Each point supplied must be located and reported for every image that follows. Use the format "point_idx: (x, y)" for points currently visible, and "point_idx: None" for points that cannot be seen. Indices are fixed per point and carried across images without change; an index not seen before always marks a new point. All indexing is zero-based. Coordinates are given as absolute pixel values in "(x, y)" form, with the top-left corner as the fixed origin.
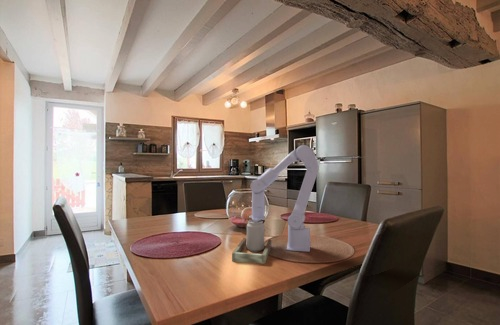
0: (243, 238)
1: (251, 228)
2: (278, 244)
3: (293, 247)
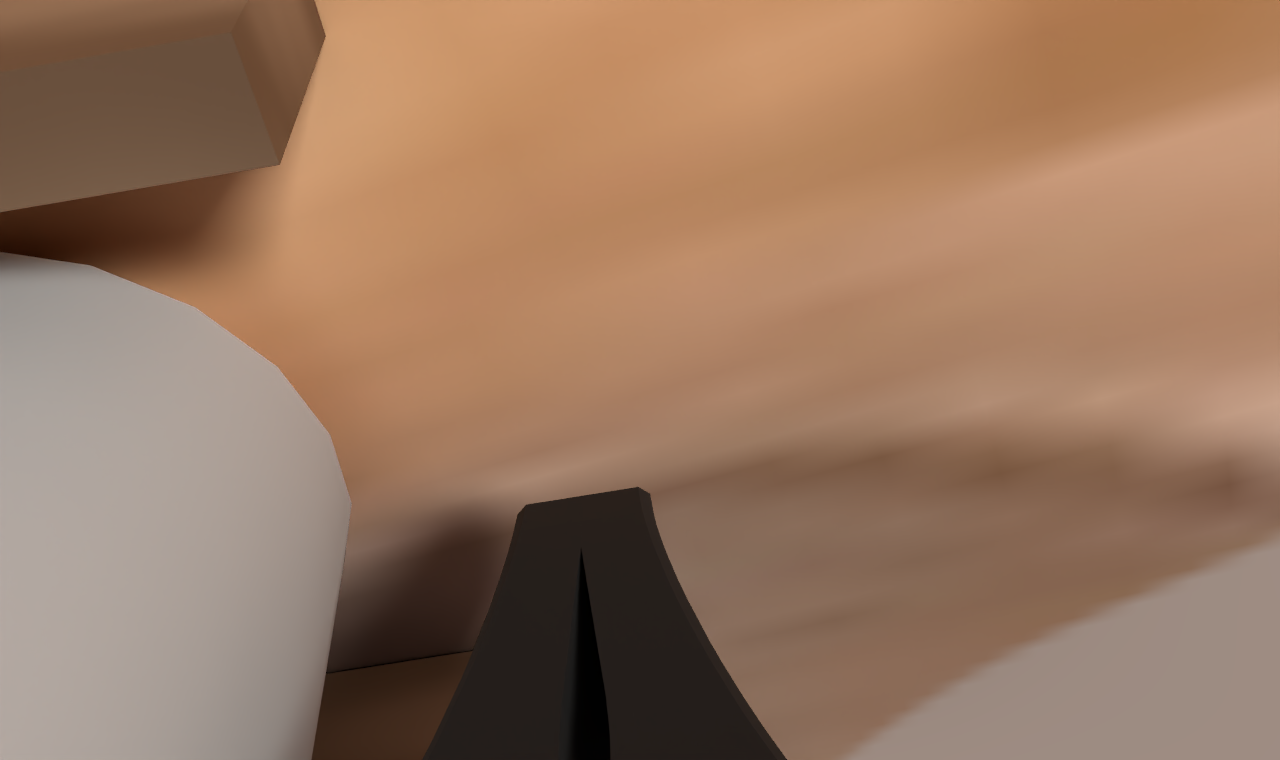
0: (161, 50)
1: None
2: None
3: None
